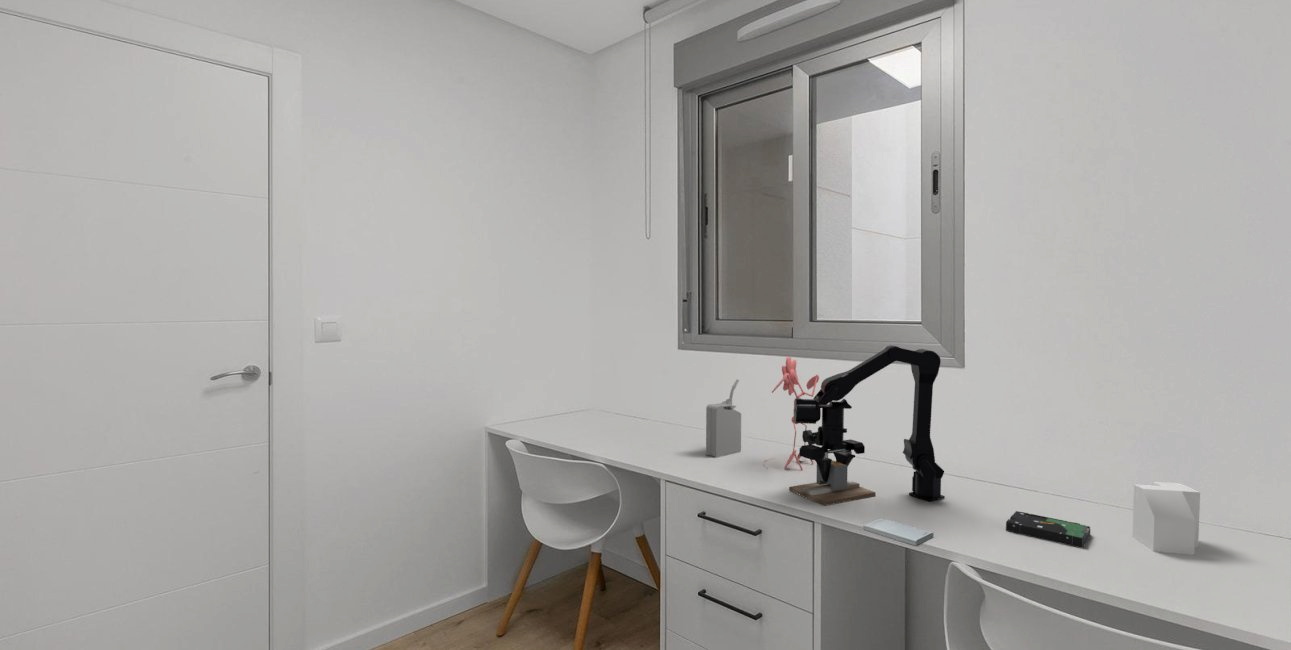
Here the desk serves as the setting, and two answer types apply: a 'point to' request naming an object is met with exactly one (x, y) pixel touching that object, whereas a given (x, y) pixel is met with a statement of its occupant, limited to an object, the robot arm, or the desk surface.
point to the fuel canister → (723, 428)
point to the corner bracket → (1166, 517)
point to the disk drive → (1049, 529)
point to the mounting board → (832, 492)
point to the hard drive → (898, 531)
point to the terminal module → (835, 476)
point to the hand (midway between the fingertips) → (831, 480)
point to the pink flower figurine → (789, 381)
